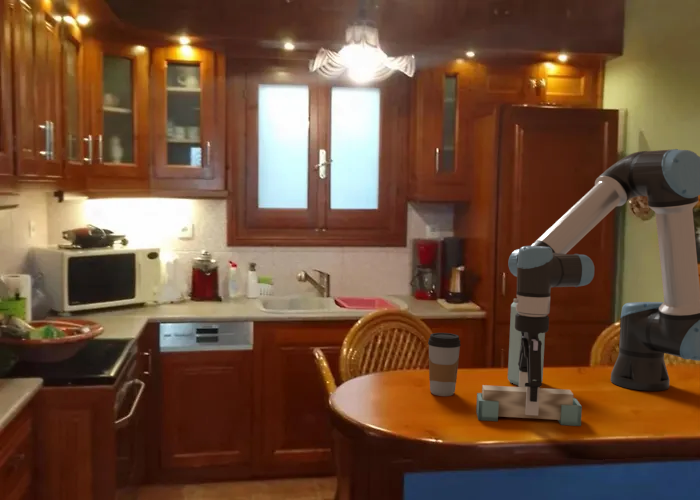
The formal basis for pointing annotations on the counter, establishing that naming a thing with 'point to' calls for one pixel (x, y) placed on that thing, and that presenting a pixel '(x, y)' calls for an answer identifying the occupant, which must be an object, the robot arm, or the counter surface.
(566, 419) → the end caps
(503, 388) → the slat
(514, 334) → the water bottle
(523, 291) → the robot arm
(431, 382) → the coffee cup
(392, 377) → the counter surface
